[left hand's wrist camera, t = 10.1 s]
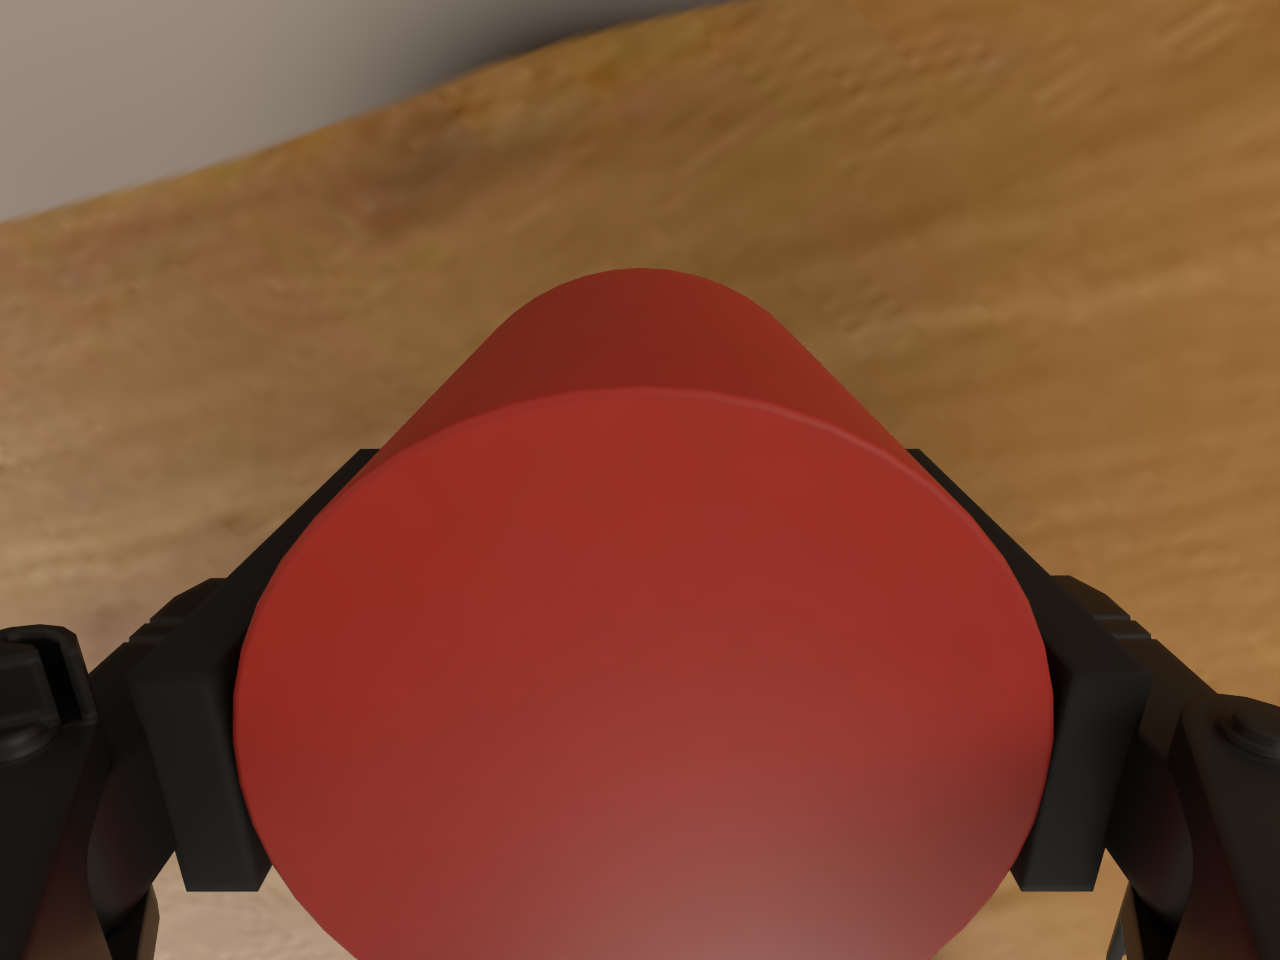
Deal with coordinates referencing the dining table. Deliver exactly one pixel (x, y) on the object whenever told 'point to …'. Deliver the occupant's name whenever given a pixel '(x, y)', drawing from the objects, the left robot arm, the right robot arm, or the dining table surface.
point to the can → (643, 661)
